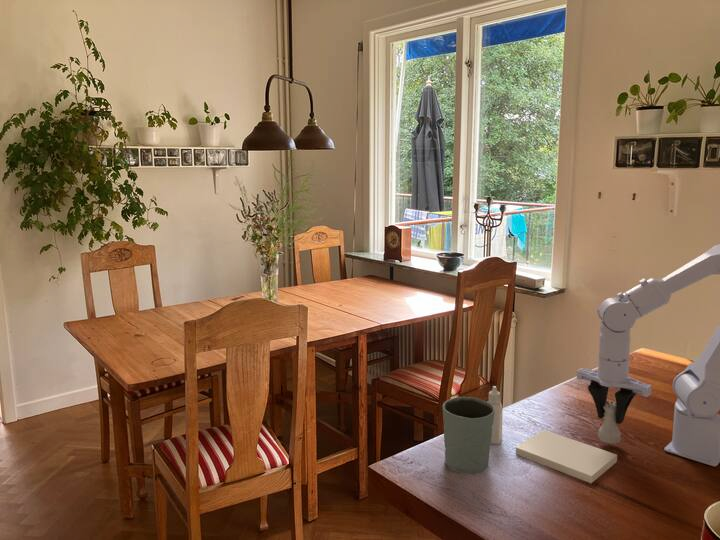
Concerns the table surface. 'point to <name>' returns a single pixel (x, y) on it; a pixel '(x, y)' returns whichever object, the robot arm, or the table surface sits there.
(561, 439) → the cream tile
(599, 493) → the table surface
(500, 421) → the eye dropper bottle
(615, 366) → the robot arm
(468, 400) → the green cup
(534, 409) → the table surface
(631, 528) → the table surface
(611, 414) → the rook chess piece
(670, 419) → the table surface
